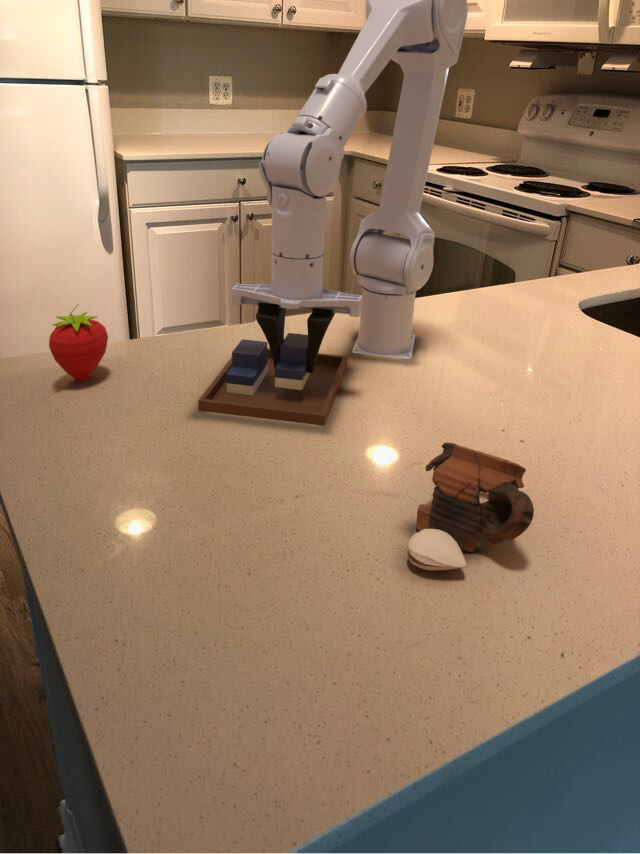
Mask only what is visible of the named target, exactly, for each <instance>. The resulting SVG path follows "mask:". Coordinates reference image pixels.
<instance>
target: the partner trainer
mask: <svg viewBox="0 0 640 854" xmlns="http://www.w3.org/2000/svg"><path fill="white" fill-rule="evenodd" d="M267 348H268V342H267V341H262V340H252V339H243V338H242V339H241V340H240V341H239V342H238V344H237V345H236V346H235V348H234V349H233V350H232V351H231V358H232V368H231V369H230V370H229V372H228V373H227V393H235V394H244V395H252V396H253V395H254V393H255V392H256V390H257V389H258V387H259V385H260V384H261V382H262V381H263V379H264V377H265V376H266V374H267V373H268V364H267Z"/></svg>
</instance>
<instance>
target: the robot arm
mask: <svg viewBox="0 0 640 854" xmlns="http://www.w3.org/2000/svg"><path fill="white" fill-rule="evenodd" d="M467 1H468V0H365V22H364V24H363V25H362V27H361V29H360V32H359V34H358V35H357V37H356V39H355V41H354V43H353V44H352V46H351V48H350V50H349V52H348V54H347V55H346V58H345V59H344V61H343V63H342V65H341V67H340V69H339V71H338V73H329V74H326V75H324V76H323V77H320V78H318V81H317V82H316V83H315V84H314V89H313V91H312V92H311V94H310V96H309V97H308V99H307V100H306V101H305V103H304V105H303V106H302V108H301V110H300V111H299V112H298V114H297V116H296V117H295V118H294V120H293V122H292V123H291V125H290V126H289V127H288V129H287V131H281V132H280V133H276V135H274V136H273V137H272V138H271V139H269V141H268V142H267V144H266V145H265V147H264V150H263V152H262V157H261V158H262V159H261V161H259V162H258V167H259V174H260V177H261V180H262V182H263V183H264V185H265V188H266V200H267V201H266V202H268V205H269V206H270V207H271V246H270V247H271V249H270V251H271V255H270V256H271V258H270V259H271V260H270V261H271V269H270V270H271V271H270V273H271V275H270V276H271V277H270V278H271V279H270V283H268V284H263V283H261V284H259V283H258V284H257V283H256V284H247V283H246V284H244V283H236V284H235V285H234V286H233V287H232V288H231V305H232V306H242V305H251V306H257V307H258V308H257V312H256V313H255V319H256V322H257V324H258V326H259V327H260V329H261V331H262V333H263V335H264V337H265V339H266V342H267V345H268V348H270V350H271V354H272V358H273V362H274V369H275V367H276V366H277V364H278V363H279V361H280V345H281V344H282V342H283V341H284V339H285V327H286V326H285V325H286V313H287V309H290V310H301V311H311V313H310V314H309V315H308V317H307V320H306V322H307V323H306V325H307V335H308V355H307V373H313V371H314V369H315V367H316V361H317V356H318V353H319V351H320V348H321V346H322V343H323V340H324V338H325V335H326V333H327V331H328V328H329V327H330V324H331V323H332V321H333V318H334V317H335V315H336V314H342V315H348V316H349V317H353V318H359V326H358V335H357V337H356V340H355V343H354V345H353V348H352V350H351V353H353V354H358V355H367V356H368V355H369V356H376V357H377V356H379V357H387V358H396V359H397V358H398V359H405V360H409V359H412V355H413V349H414V343H415V340H416V335H415V334H414V333H413V332H412V331H413V324H414V323H413V321H414V314H415V313H414V312H415V304H416V296H417V295H416V294H417V292H418V291H419V290H421V289H422V288H423V287H424V286H425V285H426V283H427V282H428V281H429V279H430V277H431V274H432V272H433V268H434V262H435V261H434V260H435V259H434V244H435V238H436V233H435V232H434V231H433V229H432V228H431V227H430V225H429V224H428V223H427V222H426V220H424V218H423V216H422V215H421V214H420V211H421V207H422V201H423V197H424V192H425V187H426V182H427V178H428V172H429V167H430V164H431V163H430V162H431V158H432V153H433V150H434V149H433V147H434V143H435V139H436V134H437V129H438V124H439V118H440V114H441V109H442V105H443V101H444V100H443V99H444V96H445V91H446V85H447V81H448V76H449V70H450V68H451V67H453V66H454V65H455V64H457V63H458V61H459V55H460V51H461V48H462V43H463V39H464V34H465V29H466V23H467V19H468V13H469V4H468V2H467ZM390 61H392V62H395V63H396V64H398V65H399V66H400V68H401V71H402V73H403V79H402V85H401V90H400V96H399V101H398V105H397V106H398V107H397V112H396V117H395V122H394V127H393V133H392V138H391V143H390V147H389V148H390V149H389V154H388V160H387V165H386V170H385V174H384V175H385V176H384V181H383V187H382V192H381V197H380V201H379V207H378V208H376V210H374V211H372V212H371V213H370V214H368V215H366V216H365V217H364V218H362V219H361V221H360V224H359V229H358V232H357V235H356V237H355V240H354V241H353V242H352V246H351V249H350V253H349V263H350V268H351V272H352V273H353V275H355V277H357V285H360V286H361V294H353V293H347V292H343V291H337V290H332V289H328V288H324V286H323V285H324V284H323V283H324V282H323V281H324V262H325V261H324V260H325V237H326V217H327V216H326V214H327V213H326V211H327V195H329V193H330V192H331V191H332V190H333V188H334V187H336V185H337V183H338V180H339V177H340V173H341V164H342V161H343V159H344V157H345V152H346V151H345V146H346V145H347V143H348V142H349V140H350V138H351V137H352V135H353V134H354V132H355V130H356V128H357V127H358V126H359V124H360V122H361V120H362V119H363V117H364V116H365V114H366V113H367V108H368V103H367V99H366V95H365V94H366V93H367V91H368V90H369V89H370V87H371V86H372V85H373V83H374V82H376V80H377V79H378V77H379V76H380V74H381V73H382V72H383V70H385V67H386V66H387V65H388V64H389V62H390ZM386 232H390V233H394V234H399V235H403V236H406V237H407V238H405V237H400V236H395V235H390V234H385V233H386ZM412 333H413V334H412Z"/></svg>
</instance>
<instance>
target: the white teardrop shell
mask: <svg viewBox="0 0 640 854" xmlns="http://www.w3.org/2000/svg"><path fill="white" fill-rule="evenodd" d="M406 555H407V559H408V560H409V561H410V563H411V564H412V565H414V566H416V567H417V568H419V569H422V570H426V571H447V570H457V569H463V568H466V567H467V562H466V559H465V556H464V553H463V550H461V549H460V548H459V546H458V544H457V542H456V541H455V540H454V539H453V538H452V537H451V536H450V535H449V534H448V533H446V532H444V531H441V530H437V529H423V530H421V531H417V532H415V533H413V535H412V536H411V537H410V538H409V540H408V543H407V550H406Z"/></svg>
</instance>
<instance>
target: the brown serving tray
mask: <svg viewBox="0 0 640 854" xmlns="http://www.w3.org/2000/svg"><path fill="white" fill-rule="evenodd" d="M348 361H349V356H347V355H339V354H338V355H337V354H328V353H319V352H318V356H317V361H316V367H315V369H314V371H313V373H310V375H309V377H308V379H307V381H306V383H305V385H304V387H303V389H302V390H297V389H288V388H280V387H275V369H274V362H273V358H272V354H271V350H270V347H267V364H268V373H267V374H266V376H265V377H264V379H263V381H262V382H261V384H260V385H259V387H258V389H257V390H256V392H255V393H254V395H253V396H252V395H244V394H235V393H227V373H228V372H229V370H230V369H231V368H232V357H231V358H230V359H229V360H228V362H226V364H225V365H224V367H223V368H222V369H221V371H220V372H219V373H218V374H217V376H216V377H215V378H214V379H213V380H212V381H211V383H210V384H209V386H208V387H207V388H206V390H205V391H204V392H203V393H202V395H201V396H200V397H199V399H198V400H197V404H198V407H197V408H198V411H201V412H206V413H207V412H208V413H216V414H223V415H224V414H226V415H233V416H240V417H241V416H243V417H250V418H258V419H264V420H265V419H266V420H273V421H281V422H282V421H283V422H290V423H298V424H308V425H315V426H325V425H326V422H327V419H328V418H329V414H330V413H331V412H330V411H331V409H332V405H333V404H334V401H335V399H336V397H337V393H338V391H339V388H340V385H341V383H342V381H343V378H344V375H345V373H346V370H347V368H348Z"/></svg>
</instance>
